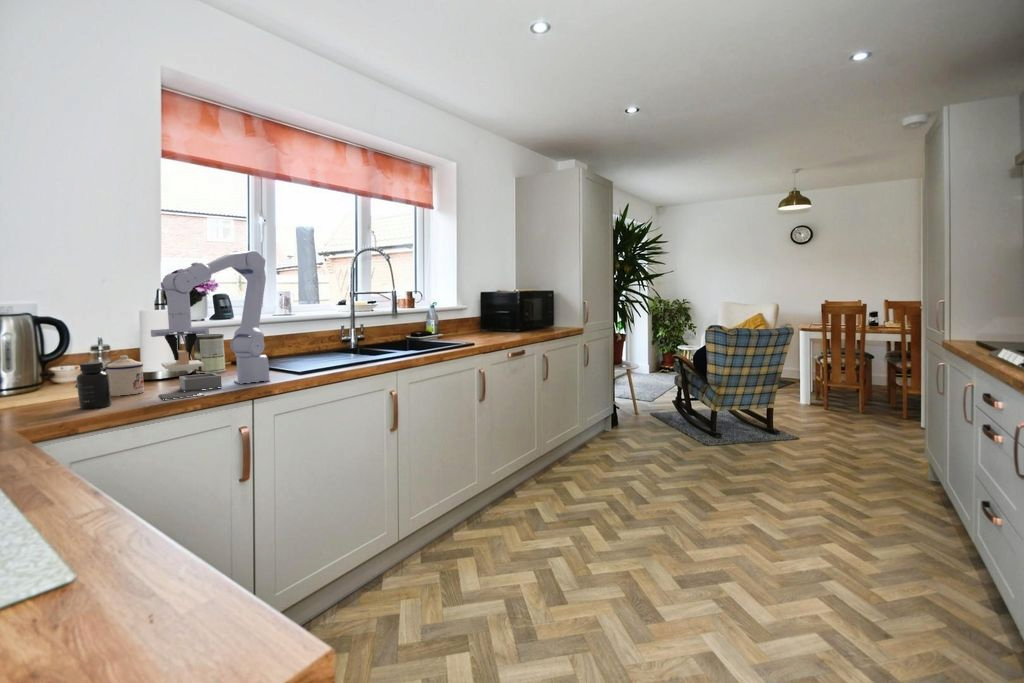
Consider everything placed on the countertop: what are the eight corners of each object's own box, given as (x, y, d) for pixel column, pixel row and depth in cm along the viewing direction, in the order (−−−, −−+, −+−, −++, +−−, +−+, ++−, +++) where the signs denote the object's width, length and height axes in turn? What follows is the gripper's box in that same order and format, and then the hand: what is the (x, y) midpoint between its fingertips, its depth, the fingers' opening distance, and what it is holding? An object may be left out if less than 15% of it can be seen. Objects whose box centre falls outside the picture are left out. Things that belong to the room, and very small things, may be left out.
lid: (198, 365, 163) (197, 348, 162) (204, 369, 157) (203, 351, 157) (161, 368, 156) (160, 351, 156) (166, 372, 151) (165, 354, 150)
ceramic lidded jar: (141, 395, 157) (138, 356, 156) (104, 397, 153) (100, 358, 152) (150, 388, 168) (147, 352, 167) (115, 390, 164) (112, 353, 163)
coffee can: (188, 373, 198) (186, 336, 196) (207, 369, 208) (204, 333, 206) (214, 373, 196) (211, 336, 195) (231, 369, 207) (229, 333, 205)
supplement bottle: (91, 404, 144) (87, 361, 143) (117, 403, 145) (113, 360, 144) (72, 410, 138) (68, 364, 136) (100, 409, 138) (96, 364, 137)
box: (215, 384, 173) (214, 372, 173) (221, 388, 167) (220, 375, 167) (180, 388, 166) (179, 376, 166) (185, 392, 160) (184, 379, 160)
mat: (197, 391, 162) (196, 390, 162) (203, 395, 155) (203, 394, 155) (158, 395, 155) (158, 394, 155) (163, 400, 149) (163, 399, 149)
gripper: (152, 315, 147) (155, 363, 149) (210, 313, 157) (212, 358, 158) (148, 314, 153) (151, 360, 154) (204, 313, 162) (207, 356, 164)
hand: (182, 359), depth 156 cm, fingers closed on lid, 2 cm apart
